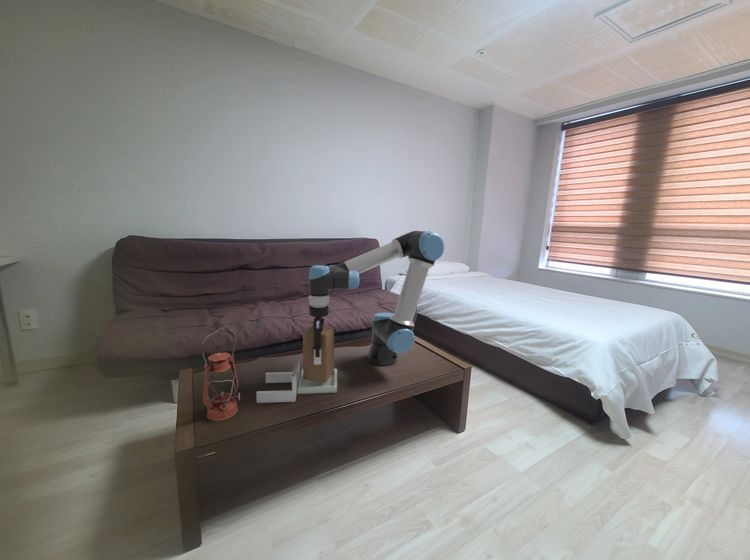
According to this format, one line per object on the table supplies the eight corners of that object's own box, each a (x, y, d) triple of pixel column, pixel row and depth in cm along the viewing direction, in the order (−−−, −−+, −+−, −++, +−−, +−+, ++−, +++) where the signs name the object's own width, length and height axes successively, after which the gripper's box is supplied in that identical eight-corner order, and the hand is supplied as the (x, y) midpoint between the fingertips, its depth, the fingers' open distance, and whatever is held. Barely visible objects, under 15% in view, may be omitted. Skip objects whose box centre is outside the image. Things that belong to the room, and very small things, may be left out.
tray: (336, 374, 133) (337, 368, 132) (336, 392, 118) (336, 387, 117) (302, 374, 131) (301, 369, 130) (297, 394, 116) (297, 388, 116)
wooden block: (326, 383, 118) (326, 334, 114) (302, 380, 120) (301, 332, 116) (334, 371, 128) (334, 326, 124) (312, 369, 129) (311, 324, 126)
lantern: (214, 403, 108) (209, 323, 103) (244, 403, 109) (240, 323, 104) (201, 421, 99) (195, 333, 93) (234, 420, 99) (229, 333, 94)
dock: (300, 380, 126) (299, 356, 124) (295, 401, 111) (294, 374, 109) (266, 381, 124) (265, 357, 122) (256, 402, 109) (255, 375, 107)
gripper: (311, 297, 129) (311, 345, 133) (306, 314, 106) (306, 371, 110) (329, 297, 130) (328, 345, 134) (327, 314, 107) (326, 371, 111)
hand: (318, 357), depth 122 cm, fingers closed on wooden block, 11 cm apart
